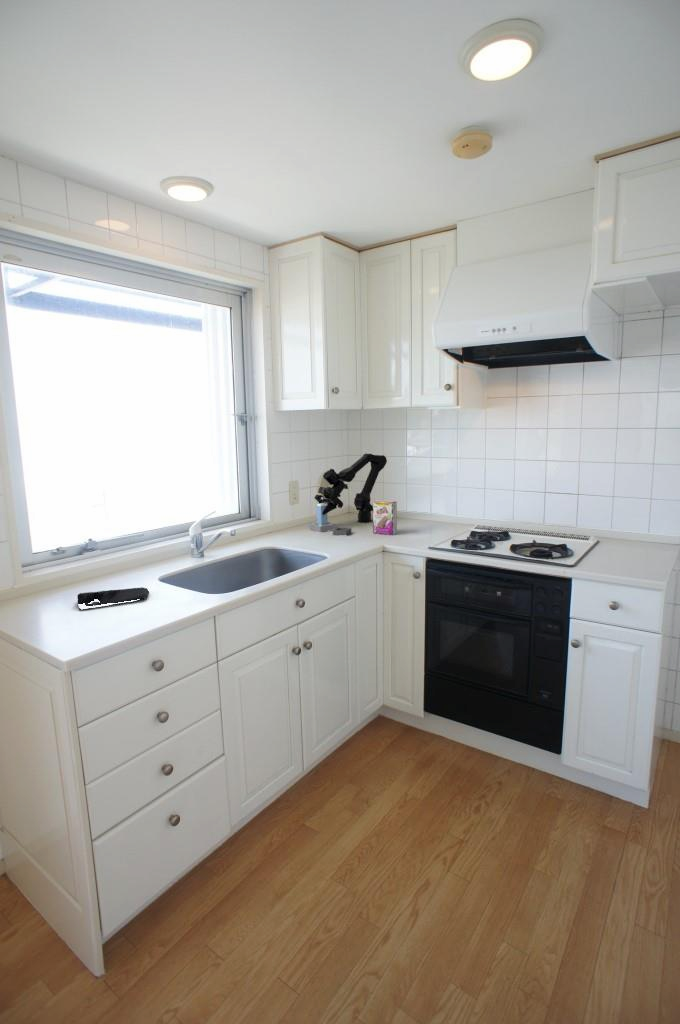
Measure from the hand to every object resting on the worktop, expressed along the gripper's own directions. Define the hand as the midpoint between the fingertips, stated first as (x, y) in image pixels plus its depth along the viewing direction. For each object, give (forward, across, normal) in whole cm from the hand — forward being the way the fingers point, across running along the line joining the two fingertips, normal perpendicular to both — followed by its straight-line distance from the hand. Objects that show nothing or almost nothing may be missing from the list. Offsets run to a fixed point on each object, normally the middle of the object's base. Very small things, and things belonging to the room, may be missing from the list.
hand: (319, 513), depth 278 cm
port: (+5, 0, +7) cm, 9 cm away
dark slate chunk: (+87, +40, -75) cm, 122 cm away
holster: (+5, +16, +7) cm, 18 cm away
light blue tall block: (+5, 0, +7) cm, 9 cm away
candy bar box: (-6, +31, +18) cm, 36 cm away
